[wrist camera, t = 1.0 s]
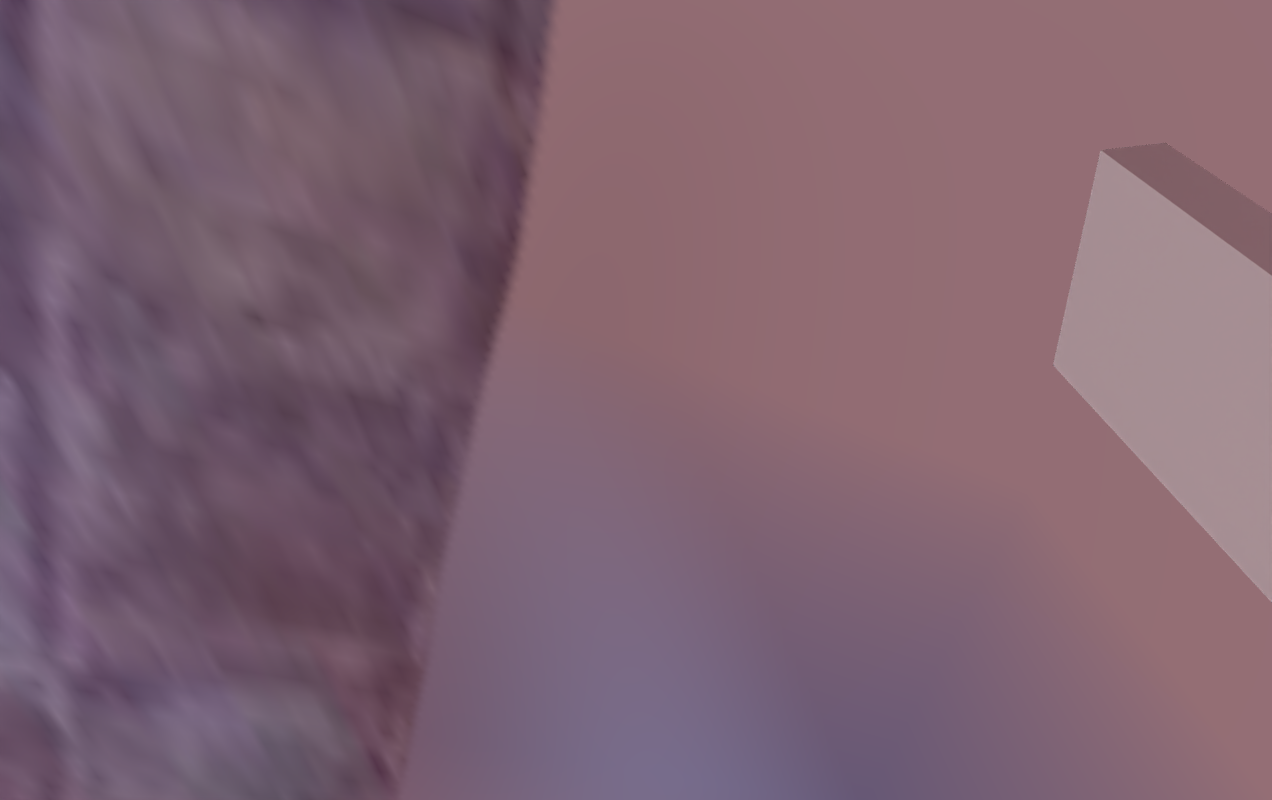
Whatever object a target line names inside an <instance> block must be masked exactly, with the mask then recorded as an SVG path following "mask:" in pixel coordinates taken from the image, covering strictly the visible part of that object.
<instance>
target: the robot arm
mask: <svg viewBox="0 0 1272 800" xmlns="http://www.w3.org/2000/svg"><path fill="white" fill-rule="evenodd" d="M1053 366H1055V368H1056V369H1057V370H1058V371H1059V372H1060V373H1061V374H1062V375H1063V376H1064V378H1065V379H1066V380H1067V381H1068V382H1069V383H1070V384H1071V385H1072V386H1073V387H1074V388H1075V389H1076V390H1077V392H1078V393H1079V394H1080V395H1081V396H1082V397H1083V398H1084V399H1085V400H1086V401H1087V402H1088V403H1089V405H1090V406H1091V407H1092V408H1093V409H1094V410H1095V411H1096V412H1097V413H1098V414H1099V415H1100V417H1101V418H1102V419H1103V420H1104V421H1105V422H1106V423H1107V424H1108V425H1109V426H1110V427H1111V429H1112V430H1113V431H1114V432H1115V433H1116V434H1117V435H1118V436H1119V437H1120V438H1121V439H1122V440H1123V441H1124V443H1125V444H1126V445H1127V446H1128V447H1129V448H1130V449H1131V450H1132V451H1133V452H1134V453H1135V455H1137V457H1138V458H1139V459H1140V460H1141V461H1142V462H1143V463H1144V464H1145V465H1146V466H1147V468H1148V469H1149V470H1150V471H1151V472H1152V473H1153V474H1154V475H1155V476H1156V477H1157V478H1158V480H1159V481H1160V482H1161V483H1162V484H1163V485H1164V486H1165V487H1166V488H1167V489H1168V490H1169V491H1170V492H1171V494H1172V495H1173V496H1174V497H1175V498H1176V499H1177V500H1178V501H1179V502H1180V503H1181V504H1182V506H1183V507H1184V508H1185V509H1186V510H1187V511H1188V512H1189V513H1190V514H1191V515H1192V516H1193V517H1194V519H1195V520H1196V521H1197V522H1198V523H1199V524H1200V525H1201V526H1202V527H1203V528H1204V529H1205V530H1206V532H1208V534H1209V535H1210V536H1211V537H1212V538H1213V539H1214V540H1215V541H1216V542H1217V544H1218V545H1219V546H1220V547H1221V548H1222V549H1223V550H1224V551H1225V552H1226V553H1227V554H1228V555H1229V557H1230V558H1231V559H1232V560H1233V561H1234V562H1235V563H1236V564H1237V565H1238V566H1239V567H1240V568H1241V570H1242V571H1243V572H1244V573H1245V574H1246V575H1247V576H1248V577H1249V578H1250V579H1251V580H1252V581H1253V583H1254V584H1255V585H1256V586H1257V587H1258V588H1259V589H1260V590H1261V591H1262V592H1263V593H1264V594H1265V596H1266V597H1267V598H1268V599H1269V600H1270V601H1271V602H1272V214H1271V213H1270V212H1268V211H1267V210H1265V209H1264V208H1262V207H1261V206H1259V205H1258V204H1256V203H1255V202H1253V201H1252V200H1250V199H1249V198H1247V197H1246V196H1244V195H1243V194H1241V193H1240V192H1238V191H1237V190H1235V189H1234V188H1232V187H1231V186H1229V185H1228V184H1226V183H1225V182H1223V181H1222V180H1220V179H1219V178H1217V177H1216V176H1214V175H1213V174H1211V173H1210V172H1208V171H1207V170H1205V169H1204V168H1202V167H1201V166H1199V165H1198V164H1196V163H1195V162H1194V161H1192V160H1191V159H1189V158H1187V157H1186V156H1184V155H1183V154H1182V153H1180V152H1178V151H1177V150H1175V149H1174V148H1172V147H1171V146H1170V145H1168V144H1167V143H1160V144H1151V145H1142V146H1133V147H1124V148H1115V149H1106V150H1101V151H1100V156H1099V160H1098V164H1097V169H1096V173H1095V178H1094V183H1093V187H1092V192H1091V196H1090V201H1089V205H1088V210H1087V214H1086V219H1085V223H1084V228H1083V232H1082V237H1081V241H1080V246H1079V250H1078V255H1077V259H1076V264H1075V268H1074V273H1073V278H1072V282H1071V287H1070V291H1069V296H1068V300H1067V305H1066V309H1065V314H1064V318H1063V323H1062V328H1061V332H1060V337H1059V341H1058V345H1057V350H1056V355H1055V359H1054V364H1053Z"/></svg>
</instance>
